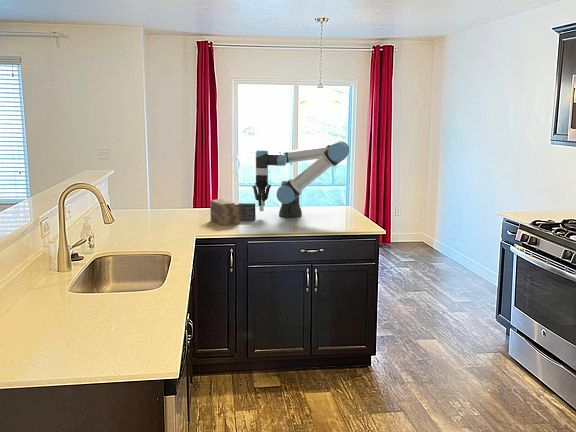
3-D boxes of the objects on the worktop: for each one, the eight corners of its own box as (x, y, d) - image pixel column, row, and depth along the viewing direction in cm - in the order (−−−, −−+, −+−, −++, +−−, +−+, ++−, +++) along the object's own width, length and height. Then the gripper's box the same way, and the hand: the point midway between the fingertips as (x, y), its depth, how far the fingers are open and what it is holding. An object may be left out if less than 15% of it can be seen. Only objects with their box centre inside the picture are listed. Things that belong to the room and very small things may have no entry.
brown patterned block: (226, 219, 372) (226, 198, 370) (239, 223, 357) (239, 202, 355) (210, 220, 366) (210, 200, 364) (223, 225, 351) (222, 204, 349)
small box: (255, 219, 372) (255, 203, 370) (254, 221, 366) (254, 204, 364) (239, 218, 373) (239, 202, 372) (237, 220, 367) (237, 204, 365)
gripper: (267, 173, 377) (267, 209, 381) (249, 174, 370) (249, 210, 374) (273, 174, 371) (273, 211, 375) (255, 175, 364) (255, 212, 368)
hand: (261, 210), depth 375 cm, fingers closed
